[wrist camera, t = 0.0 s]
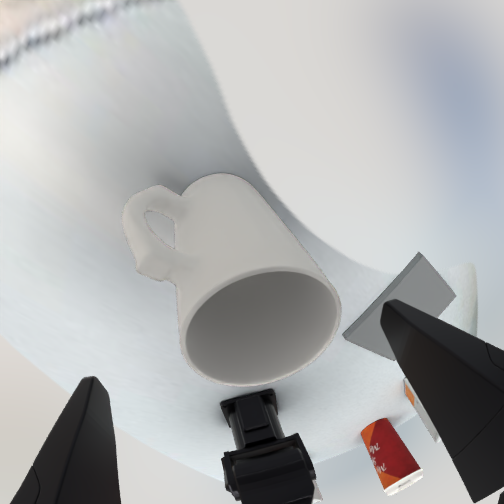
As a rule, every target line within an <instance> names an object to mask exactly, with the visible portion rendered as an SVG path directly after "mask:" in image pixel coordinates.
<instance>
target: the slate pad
mask: <svg viewBox="0 0 504 504" xmlns="http://www.w3.org/2000/svg"><path fill="white" fill-rule="evenodd" d="M455 297H456V295H455V293H454V292H453V291H452V290H451V288H450V287H449V286H448V285H447V283H446V282H445V281H444V280H443V278H442V277H441V276H440V275H439V274H438V272H437V271H436V270H435V269H434V268H433V266H432V265H431V264H430V263H429V262H428V261H427V259H426V258H425V257H424V256H423V255H422V254H421V253H420V252H418V253H417V254H416V256H415V257H414V258H413V259H412V260H411V262H410V263H409V264H408V265H407V266H406V267H405V269H404V270H403V271H402V272H401V273H400V274H399V275H398V276H397V278H396V279H395V280H394V281H393V282H392V283H391V284H390V285H389V287H388V288H387V289H386V290H385V291H384V292H383V293H382V294H381V295H380V296H379V297H378V299H377V300H376V301H375V302H374V303H373V304H372V305H371V306H370V307H369V308H368V309H367V310H366V311H365V312H364V313H363V314H362V315H361V316H360V317H359V318H358V319H357V320H356V321H355V322H354V324H353V325H352V326H351V327H350V328H349V329H348V330H347V331H346V332H344V333H343V334H342V335H343V337H344V338H345V340H347V341H350V342H352V343H354V344H356V345H358V346H361V347H363V348H365V349H367V350H370V351H372V352H374V353H377V354H379V355H381V356H383V357H386V358H388V359H390V360H393V361H395V360H396V358H395V356H394V353H393V351H392V349H391V347H390V345H389V343H388V341H387V338H386V336H385V334H384V332H383V330H382V328H381V325H380V318H381V312H382V307H383V304H384V302H386V301H389V300H391V299H398V300H400V301H402V302H404V303H407V304H409V305H411V306H413V307H415V308H417V309H419V310H421V311H423V312H425V313H427V314H430V315H432V316H434V317H436V318H437V317H438V316H439V315H440V314H441V313H442V312H443V311H444V310H445V309H446V307H447V306H448V305H449V304H450V303H451V302H452V301H453V299H454V298H455Z"/></svg>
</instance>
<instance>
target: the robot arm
mask: <svg viewBox="0 0 504 504" xmlns="http://www.w3.org/2000/svg"><path fill="white" fill-rule="evenodd" d="M380 325H381V328H382V330H383V332H384V334H385V336H386V338H387V341H388V343H389V345H390V347H391V349H392V351H393V353H394V356H395V358H396V360H397V362H398V364H399V366H400V368H401V369H402V371H403V373H404V374H405V376H406V378H407V379H408V381H409V383H410V384H411V386H412V388H413V390H414V391H415V393H416V395H417V397H418V398H419V400H420V402H421V403H422V405H423V407H424V409H425V411H426V412H427V414H428V416H429V418H430V419H431V421H432V423H433V425H434V427H435V429H436V430H437V432H438V434H439V436H440V438H441V440H442V441H443V443H444V445H445V447H446V449H447V451H448V453H449V454H450V456H451V458H452V461H453V463H454V465H455V467H456V469H457V471H458V472H459V474H460V476H461V478H462V480H463V482H464V485H465V486H466V488H467V491H468V493H469V495H470V497H471V499H472V501H473V502H474V503H476V502H478V501H480V500H482V499H483V498H485V497H487V496H489V495H491V494H492V493H494V492H496V491H497V490H499V489H501V488H502V487H504V350H501V349H499V348H497V347H495V346H493V345H491V344H489V343H485V342H484V341H483V340H481V339H479V338H477V337H475V336H473V335H471V334H469V333H467V332H465V331H462V330H460V329H458V328H456V327H454V326H452V325H450V324H448V323H446V322H444V321H442V320H440V319H438V318H436V317H434V316H432V315H430V314H427V313H425V312H423V311H421V310H419V309H417V308H415V307H413V306H411V305H409V304H407V303H404V302H402V301H400V300H398V299H391V300H389V301H386V302H384V304H383V307H382V312H381V318H380ZM220 406H221V409H222V411H223V413H224V416H225V418H226V420H227V423H228V425H229V427H230V428H231V429H232V433H233V437H234V441H235V445H236V448H237V450H235V451H231V452H229V451H227V452H224V457H223V458H222V459H221V461H222V465H223V470H224V479H225V488H226V490H227V491H229V492H231V493H232V495H233V496H234V497H235V499H236V501H240V500H241V502H242V504H312V503H313V499H314V491H315V487H314V484H313V480H316V474H315V470H314V467H313V464H312V461H311V459H310V457H309V455H308V453H307V451H306V448H305V446H304V444H303V442H302V440H301V438H300V436H299V434H298V433H295V434H293V435H291V436H288V437H285V436H284V433H283V431H282V428H281V425H280V422H279V419H278V417H277V415H278V411H277V404H276V396H275V392H274V390H267V391H264V392H260V393H257V394H253V395H249V396H245V397H241V398H237V399H233V400H229V401H225V402H222V403H221V404H220ZM10 504H121V498H120V490H119V480H118V470H117V456H116V442H115V434H114V427H113V421H112V414H111V406H110V398H109V394H108V392H107V390H106V389H105V388H104V386H103V385H102V384H101V382H100V381H99V380H98V378H97V377H95V376H90V377H84V378H83V379H82V380H81V381H80V383H79V385H78V386H77V388H76V389H75V391H74V393H73V394H72V396H71V398H70V399H69V401H68V403H67V404H66V406H65V408H64V409H63V411H62V413H61V415H60V416H59V418H58V420H57V421H56V423H55V425H54V427H53V428H52V430H51V432H50V433H49V435H48V437H47V439H46V441H45V442H44V444H43V446H42V448H41V450H40V451H39V454H38V455H37V457H36V459H35V461H34V463H33V466H31V468H30V470H29V472H28V474H27V476H26V477H25V479H24V481H23V483H22V485H21V487H20V488H19V490H18V491H17V493H16V495H15V496H14V498H13V500H12V501H11V503H10ZM498 504H504V491H503V492H502V493H501V494H500V497H499V501H498Z"/></svg>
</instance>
